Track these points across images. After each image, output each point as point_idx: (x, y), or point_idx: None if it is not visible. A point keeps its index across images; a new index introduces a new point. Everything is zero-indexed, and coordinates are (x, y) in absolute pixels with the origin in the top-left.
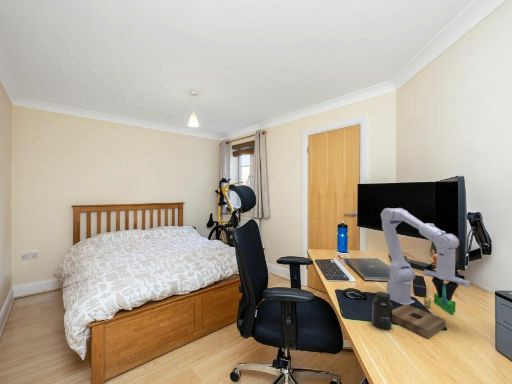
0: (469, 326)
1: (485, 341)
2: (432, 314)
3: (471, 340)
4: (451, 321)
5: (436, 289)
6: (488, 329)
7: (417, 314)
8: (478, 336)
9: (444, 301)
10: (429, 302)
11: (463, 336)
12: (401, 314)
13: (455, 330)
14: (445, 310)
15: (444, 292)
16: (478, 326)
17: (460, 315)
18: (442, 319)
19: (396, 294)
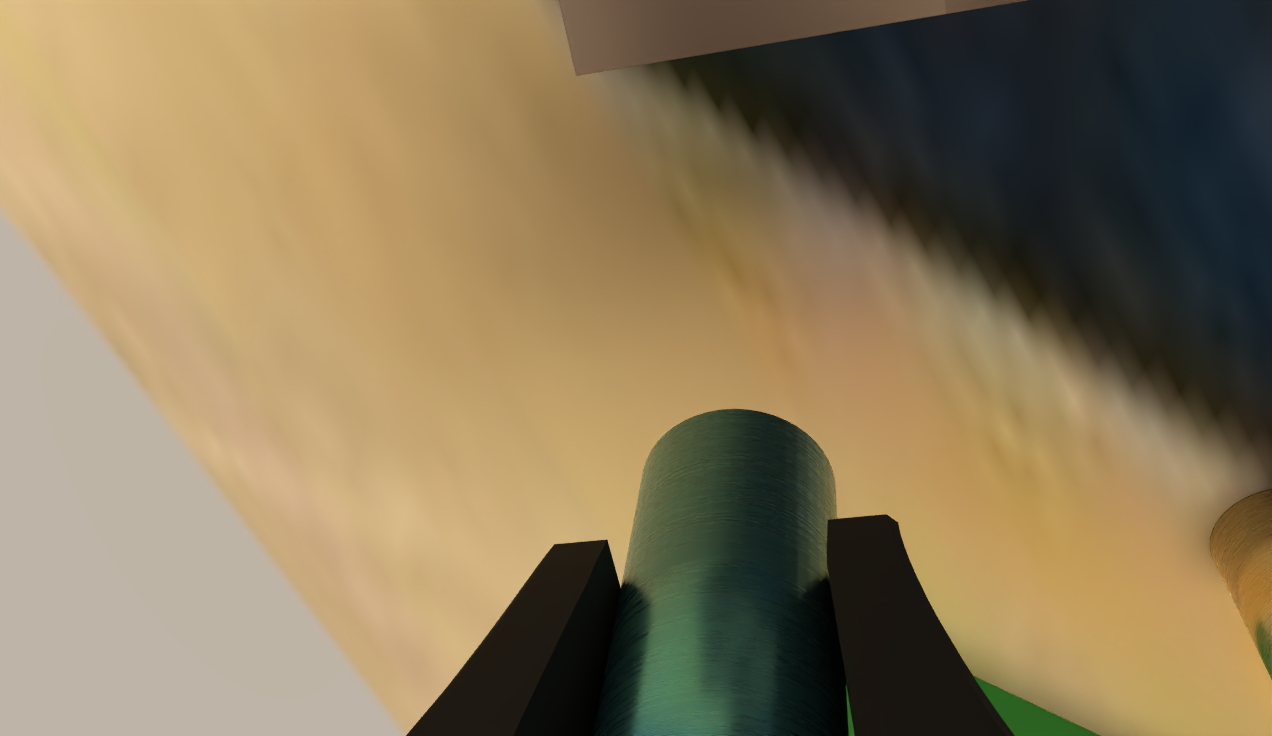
0: (493, 495)
1: (90, 236)
2: (876, 20)
3: (135, 24)
4: (712, 395)
5: (973, 699)
6: (358, 643)
7: None
8: (227, 296)
9: (689, 477)
10: (1269, 617)
11: (266, 26)
12: None
13: (462, 112)
14: (996, 690)
15: (662, 724)
16: (456, 612)
17: None
18: (604, 7)
19: None
